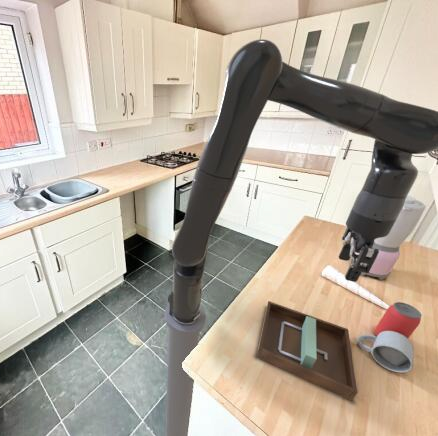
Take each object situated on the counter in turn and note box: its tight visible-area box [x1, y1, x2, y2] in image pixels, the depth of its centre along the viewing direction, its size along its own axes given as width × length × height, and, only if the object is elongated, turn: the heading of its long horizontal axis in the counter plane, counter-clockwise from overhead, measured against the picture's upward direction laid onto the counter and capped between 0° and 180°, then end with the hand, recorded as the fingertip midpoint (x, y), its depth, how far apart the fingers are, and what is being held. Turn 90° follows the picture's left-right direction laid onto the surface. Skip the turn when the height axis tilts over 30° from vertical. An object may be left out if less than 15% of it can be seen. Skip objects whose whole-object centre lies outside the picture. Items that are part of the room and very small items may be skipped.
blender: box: [349, 195, 426, 281], centre depth 92 cm, size 16×12×32 cm
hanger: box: [278, 316, 328, 369], centre depth 69 cm, size 12×14×5 cm
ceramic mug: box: [356, 331, 415, 373], centre depth 66 cm, size 11×8×8 cm
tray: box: [256, 300, 358, 402], centre depth 70 cm, size 22×20×4 cm
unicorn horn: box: [321, 265, 391, 310], centre depth 86 cm, size 5×24×5 cm, turn 27°
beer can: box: [374, 301, 423, 339], centre depth 69 cm, size 7×7×12 cm
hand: (346, 269), depth 60 cm, fingers open, 8 cm apart
